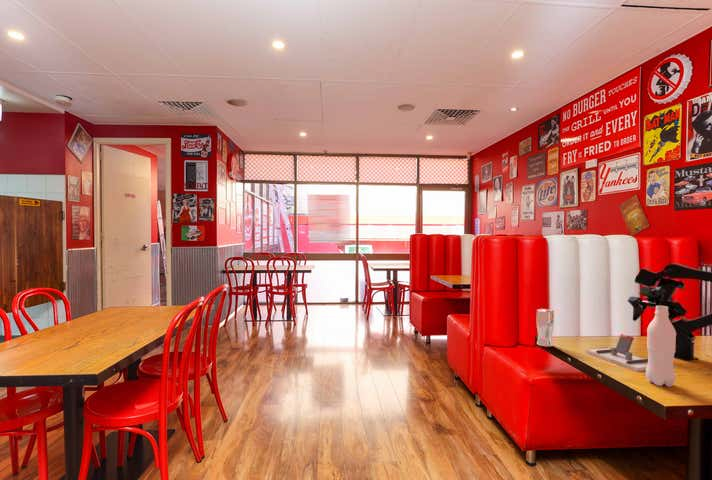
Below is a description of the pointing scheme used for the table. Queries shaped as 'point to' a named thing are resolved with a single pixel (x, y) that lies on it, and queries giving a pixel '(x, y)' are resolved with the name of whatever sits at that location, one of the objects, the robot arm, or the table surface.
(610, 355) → the plate
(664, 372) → the water bottle
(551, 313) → the beer glass
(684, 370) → the table surface
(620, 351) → the lever
